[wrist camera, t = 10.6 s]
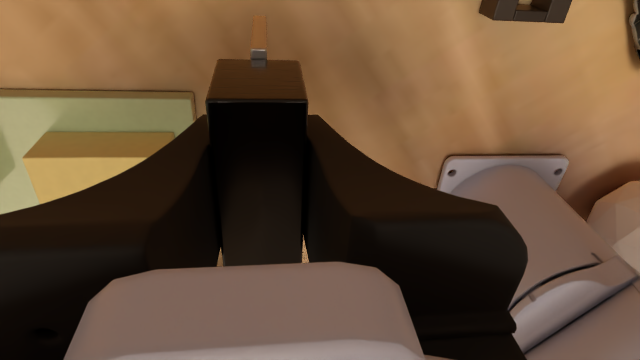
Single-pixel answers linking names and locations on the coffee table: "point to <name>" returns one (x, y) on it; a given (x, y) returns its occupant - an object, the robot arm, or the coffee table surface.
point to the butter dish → (76, 125)
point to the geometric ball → (620, 221)
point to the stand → (526, 10)
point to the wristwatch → (636, 25)
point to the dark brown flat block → (258, 155)
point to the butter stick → (86, 159)
